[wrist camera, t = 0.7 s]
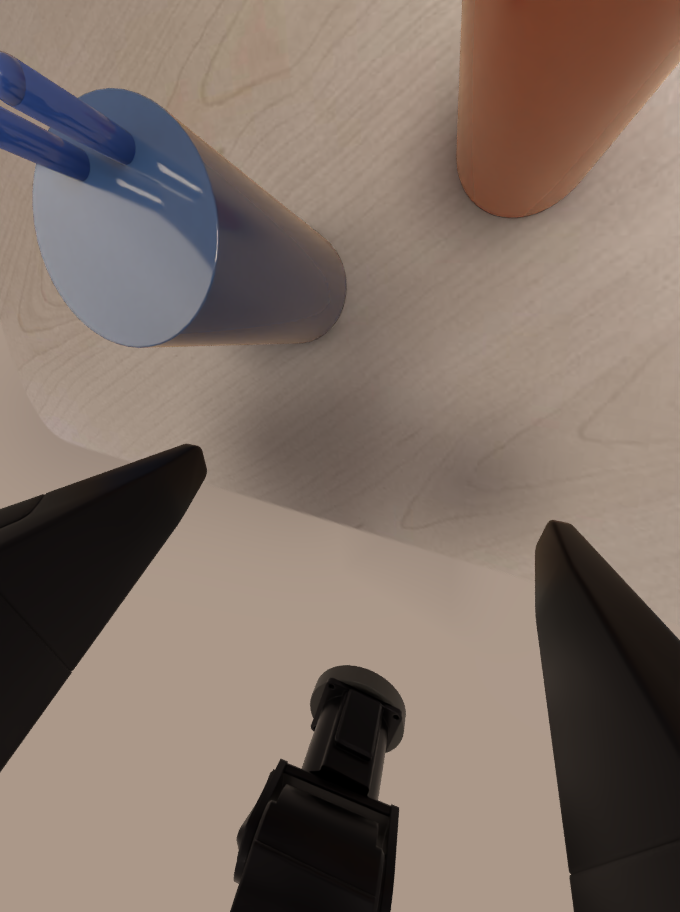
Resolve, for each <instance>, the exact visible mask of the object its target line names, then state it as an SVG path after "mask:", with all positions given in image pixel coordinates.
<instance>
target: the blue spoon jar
mask: <svg viewBox="0 0 680 912" xmlns="http://www.w3.org/2000/svg"><path fill="white" fill-rule="evenodd" d="M0 100H2V101H3V102H5V103H6V104H8V105H10V106H11V107H13V108H15V109H17V110H19V111H21V112H23V113H25V114H26V115H28V116H30V117H32V118H34V119H36V120H38V121H40V122H42V123H43V124H45V125H47V126H49V127H50V128H49V130H48V131H47V130H45V129H43V128H41V127H39V126H37V125H35V124H33V123H31V122H30V121H28V120H26V119H24V118H22V117H20V116H18V115H16V114H14V113H12V112H10V111H8V110H6V109H4V108H3V107H1V106H0V148H1V149H4V150H6V151H8V152H11V153H13V154H15V155H18V156H20V157H22V158H25V159H27V160H29V161H32V162H34V163H36V167H35V172H34V179H33V191H32V198H33V217H34V226H35V231H36V237H37V241H38V245H39V248H40V252H41V255H42V258H43V261H44V264H45V266H46V269H47V271H48V273H49V276H50V278H51V280H52V282H53V284H54V286H55V287H56V289H57V291H58V293H59V294H60V296H61V297H62V299H63V300H64V302H65V303H66V304H67V306H68V307H69V308H70V309H71V311H72V312H73V313H74V314H75V315H76V316H77V317H78V318H79V319H80V320H81V321H82V322H83V323H84V324H85V325H86V326H87V327H89V328H90V329H91V330H92V331H94V332H95V333H97V334H98V335H100V336H102V337H103V338H105V339H107V340H109V341H112V342H114V343H117V344H120V345H124V346H128V347H136V348H152V347H188V346H224V345H260V344H297V343H306V342H310V341H313V340H315V339H317V338H319V337H321V336H322V335H324V334H325V333H326V332H327V331H328V330H329V329H330V328H331V327H332V326H333V325H334V324H335V322H336V321H337V319H338V317H339V316H340V313H341V311H342V309H343V305H344V302H345V296H346V276H345V271H344V267H343V264H342V262H341V259H340V257H339V255H338V253H337V252H336V250H335V249H334V248H333V246H332V245H331V244H330V243H329V242H328V241H327V240H326V239H325V238H324V237H322V236H321V235H320V234H319V233H317V232H316V231H315V230H314V229H312V228H311V227H310V226H309V225H308V224H306V223H305V222H304V221H303V220H301V219H300V218H299V217H298V216H296V215H295V214H294V213H293V212H291V211H290V210H289V209H288V208H286V207H285V206H284V205H283V204H282V203H280V202H279V201H278V200H277V199H275V198H274V197H273V196H272V195H270V194H269V193H268V192H267V191H265V190H264V189H263V188H262V187H261V186H259V185H258V184H257V183H256V182H254V181H253V180H252V179H251V178H249V177H248V176H247V175H246V174H244V173H243V172H242V171H241V170H240V169H238V168H237V167H236V166H235V165H233V164H232V163H231V162H230V161H228V160H227V159H226V158H225V157H223V156H222V155H221V154H220V153H219V152H217V151H216V150H215V149H214V148H212V147H211V146H210V145H209V144H207V143H206V142H205V141H204V140H202V139H201V138H200V137H199V136H197V135H196V134H195V133H194V132H193V131H191V130H190V129H189V128H188V127H186V126H185V125H184V124H183V123H181V122H180V121H179V120H178V119H176V118H175V117H174V116H173V115H172V114H170V113H169V112H168V111H167V110H165V109H164V108H163V107H161V106H160V105H158V104H157V103H156V102H154V101H153V100H151V99H149V98H147V97H145V96H143V95H141V94H139V93H136V92H132V91H129V90H125V89H115V88H106V89H99V90H95V91H92V92H89V93H86V94H84V95H82V96H80V97H78V98H77V97H75V96H74V95H72V94H70V93H69V92H67V91H66V90H64V89H63V88H61V87H60V86H58V85H57V84H55V83H54V82H52V81H50V80H49V79H47V78H46V77H44V76H43V75H41V74H40V73H38V72H37V71H35V70H33V69H32V68H30V67H29V66H27V65H26V64H24V63H23V62H21V61H20V60H18V59H17V58H15V57H13V56H12V55H10V54H8V53H6V52H3V51H0Z"/></svg>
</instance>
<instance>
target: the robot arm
mask: <svg viewBox="0 0 680 912" xmlns="http://www.w3.org/2000/svg"><path fill="white" fill-rule="evenodd" d="M206 474H207V468H206V464H205V460H204V456H203V452H202V449H201V448H200V447H199V446H196V445H191V444H183V445H180V446H178V447H175V448H172V449H169V450H166V451H163V452H161V453H158V454H155V455H152V456H149V457H147V458H144V459H141V460H138V461H135V462H133V463H130V464H127V465H124V466H122V467H119V468H116V469H113V470H110V471H107V472H104V473H102V474H99V475H96V476H93V477H90V478H88V479H85V480H82V481H79V482H76V483H73V484H71V485H68V486H65V487H63V488H59V489H57V490H54V491H51V492H48V493H46V494H45V495H43V494H42V495H40V496H37V497H34V498H31V499H28V500H25V501H22V502H20V503H17V504H14V505H11V506H8V507H5V508H2V509H0V772H1V770H2V769H3V768H4V766H5V765H6V763H7V762H8V761H9V759H10V758H11V757H12V755H13V754H14V752H15V751H16V750H17V748H18V747H19V745H20V744H21V743H22V741H23V740H24V738H25V737H26V736H27V734H28V733H29V731H30V730H31V729H32V727H33V726H34V724H35V723H36V722H37V720H38V719H39V718H40V716H41V715H42V713H43V712H44V711H45V709H46V708H47V706H48V705H49V704H50V702H51V701H52V699H53V698H54V696H55V695H56V694H57V692H58V691H59V690H60V688H61V687H62V685H63V684H64V683H65V681H66V680H67V679H68V677H69V676H70V674H71V673H72V672H71V671H72V670H74V668H75V667H76V666H77V664H78V663H79V662H80V660H81V658H82V657H83V656H84V655H85V653H86V652H87V650H88V649H89V648H90V646H91V645H92V643H93V642H94V641H95V639H96V638H97V636H98V635H99V634H100V632H101V631H102V630H103V628H104V627H105V625H106V624H107V623H108V621H109V620H110V618H111V617H112V616H113V614H114V613H115V611H116V610H117V608H118V607H119V606H120V604H121V603H122V602H123V600H124V599H125V597H126V596H127V595H128V593H129V592H130V591H131V589H132V588H133V586H134V585H135V584H136V582H137V581H138V579H139V578H140V577H141V575H142V574H143V573H144V571H145V570H146V568H147V567H148V565H149V564H150V563H151V561H152V560H153V559H154V557H155V556H156V554H157V553H158V552H159V550H160V549H161V547H162V546H163V545H164V543H165V542H166V540H167V539H168V538H169V536H170V535H171V534H172V532H173V531H174V529H175V528H176V527H177V525H178V524H179V522H180V520H181V519H182V517H183V516H184V514H185V512H186V511H187V509H188V507H189V505H190V503H191V502H192V500H193V498H194V497H195V495H196V493H197V491H198V490H199V488H200V486H201V484H202V483H203V481H204V479H205V477H206ZM535 612H536V624H537V632H538V640H539V647H540V655H541V662H542V670H543V678H544V685H545V693H546V700H547V708H548V716H549V723H550V730H551V738H552V746H553V753H554V760H555V768H556V776H557V784H558V791H559V798H560V807H561V814H562V822H563V829H564V837H565V845H566V852H567V860H568V867H569V872H570V874H571V875H570V884H571V892H572V900H573V907H574V912H680V640H679V639H678V638H677V637H676V636H675V635H674V634H673V633H672V631H671V630H670V629H669V628H668V627H667V626H666V625H665V624H664V623H663V622H662V621H661V620H660V619H659V617H658V616H657V615H656V614H655V613H654V612H653V611H652V610H651V609H650V608H649V607H648V606H647V605H646V604H645V602H644V601H643V600H642V599H641V598H640V597H639V596H638V595H637V594H636V593H635V592H634V591H633V590H632V588H631V587H630V586H629V585H628V584H627V583H626V582H625V581H624V580H623V579H622V578H621V577H620V576H619V575H618V573H617V572H616V571H615V570H614V569H613V568H612V567H611V566H610V565H609V564H608V563H607V562H606V561H605V560H604V558H603V557H602V556H601V555H600V554H599V553H598V552H597V551H596V550H595V549H594V548H593V547H592V546H591V544H590V543H589V542H588V541H587V540H586V539H585V538H584V537H583V536H582V535H581V534H580V533H579V532H578V531H577V529H576V528H575V527H574V526H573V525H571V524H569V523H566V522H561V521H556V520H551V521H549V522H548V523H547V525H546V527H545V529H544V531H543V533H542V535H541V537H540V539H539V541H538V543H537V545H536V550H535ZM402 716H403V713H402V711H401V710H400V709H399V708H396V707H394V706H392V705H390V704H388V703H386V702H384V701H382V700H380V699H377V698H375V697H373V696H371V695H369V694H367V693H365V692H363V691H361V690H358V689H356V688H354V687H352V686H350V685H348V684H346V683H344V682H342V681H339V680H337V679H335V678H328V680H327V683H326V685H325V688H324V691H323V694H322V696H321V699H320V702H319V705H318V708H317V710H316V713H315V716H314V719H313V722H312V724H311V729H312V730H313V731H314V734H313V737H312V740H311V743H310V746H309V749H308V752H307V755H306V757H305V760H304V763H303V766H302V769H300V768H298V767H296V766H293V765H291V764H288V762H287V761H285V760H283V759H280V761H279V763H278V765H277V767H276V769H275V770H274V769H273V771H272V772H271V773H270V775H269V778H268V780H267V783H266V785H265V787H264V789H263V791H262V793H261V795H260V797H259V799H258V801H257V803H256V805H255V806H254V808H253V809H252V811H251V812H250V814H249V815H248V817H247V818H246V820H245V821H244V823H243V825H242V826H241V828H240V830H239V832H238V835H237V844H238V849H239V852H238V856H237V863H236V867H235V872H234V881H235V882H236V883H238V884H239V886H238V889H237V892H236V895H235V898H234V901H233V905H232V908H231V910H230V912H390V910H391V903H392V895H393V885H394V874H395V860H396V846H397V832H398V817H399V807H397V806H394V805H391V806H390V805H388V804H385V803H383V802H380V801H378V796H379V790H380V783H381V777H382V770H383V763H384V757H385V753H386V751H387V749H388V747H389V745H390V743H391V741H392V739H393V737H394V735H395V733H396V731H397V729H398V727H399V725H400V723H401V721H402Z"/></svg>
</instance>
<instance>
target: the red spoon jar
mask: <svg viewBox="0 0 680 912" xmlns="http://www.w3.org/2000/svg"><path fill="white" fill-rule="evenodd" d="M679 62H680V0H462V15H461V42H460V69H459V96H458V122H457V149H456V161H457V170H458V174H459V178H460V181H461V184H462V186H463V188H464V190H465V192H466V193H467V195H468V196H469V198H470V199H471V200H472V201H473V202H474V203H475V204H476V205H477V206H478V207H480V208H481V209H483V210H484V211H486V212H488V213H490V214H493V215H497V216H501V217H508V218H511V217H524V216H528V215H532V214H536V213H538V212H541V211H543V210H545V209H547V208H549V207H551V206H553V205H554V204H556V203H557V202H559V201H560V200H561V199H563V198H564V197H565V196H566V195H568V194H569V193H570V192H571V191H572V190H573V189H574V188H575V187H576V186H577V185H578V184H579V183H580V181H581V180H582V179H583V178H584V177H585V175H586V174H587V173H588V172H589V171H590V169H591V168H592V167H593V166H594V165H595V163H596V162H597V161H598V160H599V159H600V157H601V156H602V155H603V154H604V153H605V151H606V150H607V149H608V148H609V147H610V145H611V144H612V143H613V142H614V141H615V139H616V138H617V137H618V136H619V135H620V133H621V132H622V131H623V130H624V129H625V127H626V126H627V125H628V124H629V123H630V121H631V120H632V119H633V118H634V117H635V115H636V114H637V113H638V112H639V110H640V109H641V108H642V107H643V106H644V104H645V103H646V102H647V101H648V100H649V98H650V97H651V96H652V95H653V94H654V92H655V91H656V90H657V89H658V88H659V86H660V85H661V84H662V83H663V82H664V80H665V79H666V78H667V77H668V76H669V74H670V73H671V72H672V71H673V70H674V68H675V67H676V66H677V65H678V64H679Z"/></svg>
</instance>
